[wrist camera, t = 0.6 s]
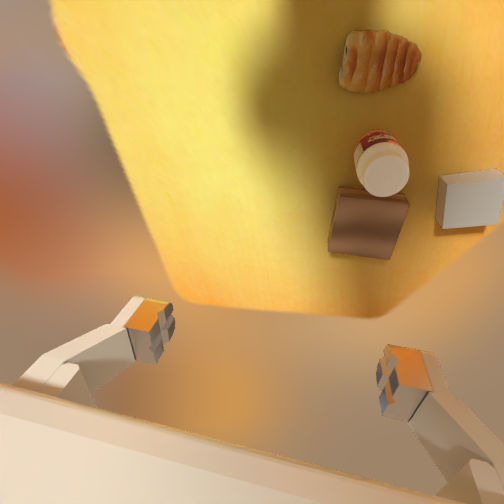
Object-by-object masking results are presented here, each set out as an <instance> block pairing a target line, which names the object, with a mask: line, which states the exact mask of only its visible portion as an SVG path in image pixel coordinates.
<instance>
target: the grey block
mask: <svg viewBox="0 0 504 504" xmlns="http://www.w3.org/2000/svg"><path fill="white" fill-rule="evenodd" d="M503 201H504V174H503V173H502V172H500V171H499V170H497V169H496V168H495V169H487V170H480V171H472V172H464V173H457V174H449V175H442V176H439V183H438V194H437V204H436V214H435V219H436V220H437V222H438V223H439V225H440V226H441V228H442V229H450V228H462V227H474V226H485V225H497V224H499V219H500V214H501V210H502V205H503Z"/></svg>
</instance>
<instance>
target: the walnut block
mask: <svg viewBox="0 0 504 504" xmlns="http://www.w3.org/2000/svg"><path fill="white" fill-rule="evenodd" d="M409 205H410V204H409V202H408V200H407V198H406V197H405V195H404V194H399V193H396V194H394V195H391V196H388V197H378V196H374V195H372V194H370V193H369V192H368V191H367V190H362V189H353V188H344V187H339V189H338V194H337V198H336V203H335V208H334V213H333V218H332V222H331V227H330V232H329V237H328V252H335V253H342V254H350V255H357V256H364V257H371V258H378V259H385V260H390V258H391V255H392V252H393V250H394V247H395V244H396V241H397V238H398V236H399V233H400V230H401V227H402V225H403V222H404V219H405V216H406V213H407V211H408V208H409Z"/></svg>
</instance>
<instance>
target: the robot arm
mask: <svg viewBox="0 0 504 504" xmlns="http://www.w3.org/2000/svg"><path fill="white" fill-rule="evenodd" d="M172 311H173V305H172V304H171V303H169V302H164V301H159V300H155V299H150V298H144V297H140V296H134V297H133V298H132V299H131V300H130V301H129V302H128V303H127V305H126V306H125V307H124V308H123V309H122V311H121V312H120V313H119V314H118V316H117V317H116V318H115V319H114V320H113V321H112V323H111V324H105V325H103V326H101V327H99V328H97V329H95V330H93V331H91V332H89V333H87V334H85V335H82V336H81V337H78V338H76V339H74V340H72V341H71V342H68V343H66V344H64V345H62V346H60V347H58V348H56V349H54V350H52V351H49V352H47V353H46V354H43V355H42V356H41V357H40V358H39V359H38V360H37V361H36V362H35V363H34V364H33V365H32V366H31V367H30V368H29V369H28V370H27V371H26V372H25V373H24V374H23V375H22V376H21V377H20V378H19V379H18V380H17V381H16V382H15V383H14V384H13V385H12V386H11V385H7V384H4V383H0V504H504V444H503V443H502V442H501V441H500V440H499V439H498V438H497V437H496V436H495V435H494V434H493V433H492V432H491V431H490V430H489V429H488V428H487V427H486V426H485V425H484V424H482V422H481V421H480V420H479V419H478V418H477V417H476V416H475V415H474V414H473V413H472V412H471V411H470V410H469V409H468V408H467V407H466V406H465V405H464V404H463V403H462V402H461V401H460V400H459V399H458V398H456V397H452V395H451V392H450V390H449V387H448V384H447V382H446V379H445V376H444V374H443V371H442V368H441V366H440V363H439V361H438V358H437V356H436V354H435V353H433V352H427V351H422V350H416V349H411V348H406V347H400V346H395V345H389V344H388V345H387V346H386V347H385V349H384V356H385V357H383V358H381V359H380V360H379V363H378V366H377V372H376V376H377V385H378V387H379V388H380V389H381V391H382V393H381V395H380V397H379V399H380V405H381V412H382V416H385V417H389V418H393V419H397V420H401V421H405V422H408V424H409V426H410V427H411V429H412V430H413V432H414V433H415V435H416V436H417V437H418V439H419V441H420V442H421V444H422V445H423V446H424V448H425V450H426V451H427V452H428V454H429V455H430V457H431V458H432V460H433V461H434V463H435V464H436V466H437V467H438V469H439V470H440V472H441V473H442V475H443V476H444V478H445V479H446V481H447V482H448V483H447V484H446V485H445V486H444V487H443V488H442V489H441V490H440V491H439V492H438V493H437V494H436V495H431V494H427V493H423V492H419V491H415V490H411V489H407V488H403V487H400V486H396V485H392V484H388V483H384V482H380V481H377V480H373V479H369V478H365V477H361V476H357V475H354V474H350V473H346V472H342V471H338V470H334V469H330V468H327V467H323V466H319V465H315V464H311V463H308V462H304V461H300V460H296V459H292V458H288V457H285V456H281V455H277V454H273V453H269V452H266V451H262V450H258V449H254V448H250V447H246V446H242V445H238V444H235V443H231V442H227V441H223V440H219V439H215V438H212V437H207V436H204V435H200V434H196V433H192V432H188V431H185V430H181V429H177V428H173V427H169V426H165V425H162V424H158V423H154V422H150V421H145V420H142V419H138V418H135V417H131V416H126V415H123V414H119V413H115V412H111V411H108V410H104V409H100V408H97V406H96V403H95V400H94V398H93V396H92V393H93V392H95V391H96V390H97V389H98V388H100V387H101V386H102V385H104V384H105V383H107V382H108V381H110V380H111V379H112V378H114V377H115V376H116V375H118V374H119V373H120V372H122V371H123V370H125V369H126V368H127V367H129V366H130V365H132V364H133V363H134V362H135V360H137V361H141V362H146V363H152V364H157V362H158V360H159V358H160V357H161V355H162V353H163V351H164V347H163V345H164V344H165V343H167V342H169V341H170V339H171V337H172V335H173V332H174V329H175V318H174V317H173V316H172V315H171V313H172Z"/></svg>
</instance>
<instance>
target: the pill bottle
mask: <svg viewBox="0 0 504 504" xmlns="http://www.w3.org/2000/svg"><path fill="white" fill-rule="evenodd" d="M353 159H354V163H355V168H356V172H357V177H358V179H359V181H360V182H361V184H362V185H363V186H364V187H365V189H366V190H367V191H368V192H369V193H370V194H372V195H374V196H378V197H388V196H391V195H394V194H396V193H398V192H399V191H400V190H402V189H403V187H404V186H405V185H406V183H407V181H408V179H409V174H410V171H409V167H408V166H409V161H408V157H407V154H406V152H405V151H404V149H403V148H402V147H401V145H400V144H399V143H398V141H397V140H396V139H395V138H394V137H393V136H392V135H391V134H390V133H388V132H386V131H381V130H377V131H372V132H369V133H367V134H365V135H364V136H363V137H361V138H360V139H359V141H358V142H357V143H356V145H355V148H354V152H353Z"/></svg>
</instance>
